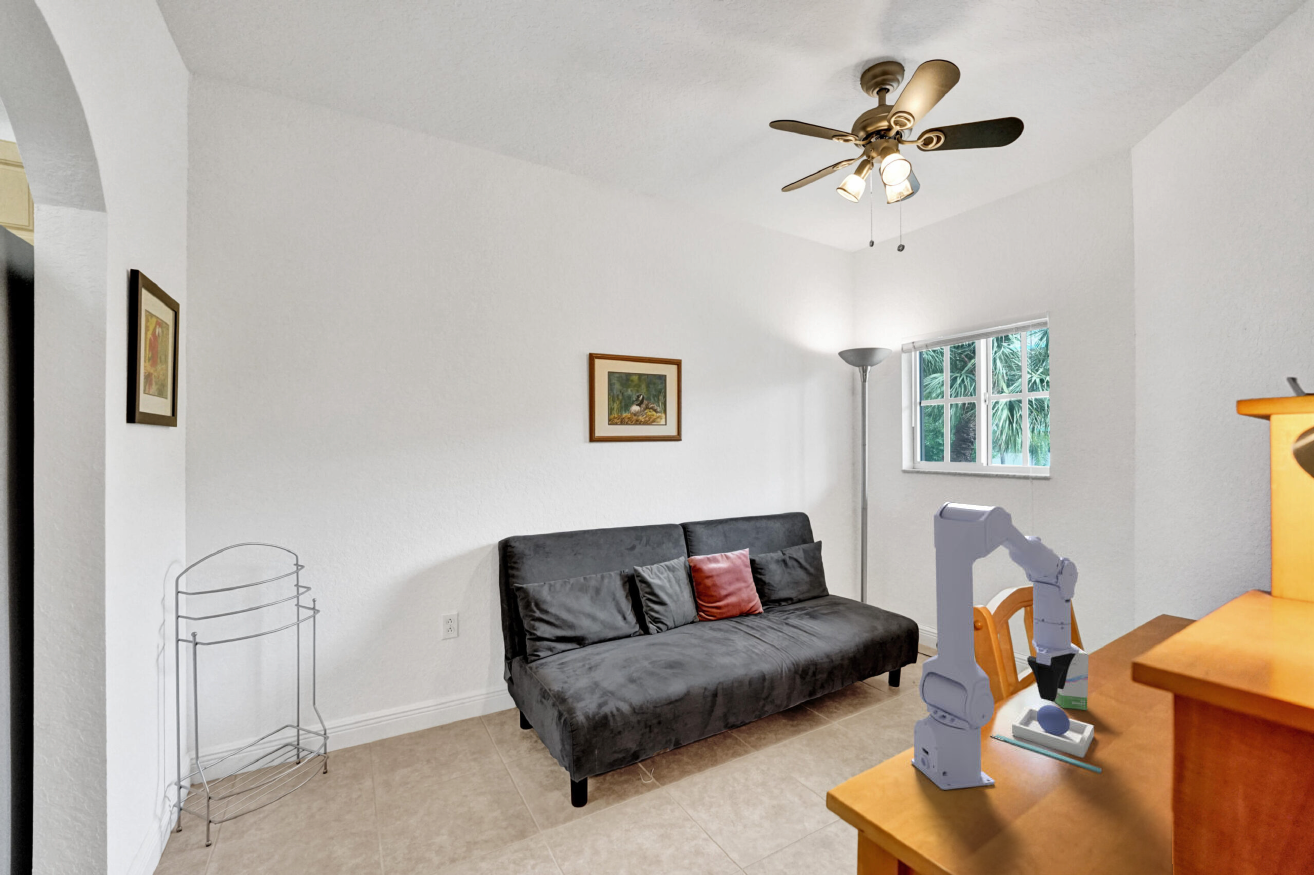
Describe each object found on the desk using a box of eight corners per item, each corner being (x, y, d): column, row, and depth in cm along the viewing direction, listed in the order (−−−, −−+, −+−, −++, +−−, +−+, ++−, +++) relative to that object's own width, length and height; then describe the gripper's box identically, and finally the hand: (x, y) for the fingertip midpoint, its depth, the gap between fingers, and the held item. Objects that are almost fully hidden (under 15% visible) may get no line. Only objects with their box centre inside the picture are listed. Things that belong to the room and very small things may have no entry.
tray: (1083, 758, 95) (1083, 746, 95) (1012, 735, 102) (1012, 724, 102) (1093, 736, 102) (1093, 725, 102) (1026, 716, 110) (1026, 706, 110)
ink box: (1041, 691, 122) (1041, 637, 122) (1067, 693, 121) (1067, 638, 121) (1061, 708, 113) (1061, 650, 113) (1090, 711, 112) (1089, 652, 112)
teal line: (990, 736, 102) (990, 734, 102) (992, 734, 102) (992, 732, 102) (1100, 773, 90) (1100, 771, 90) (1101, 770, 91) (1101, 768, 91)
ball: (1053, 741, 99) (1053, 714, 99) (1030, 728, 104) (1030, 701, 104) (1077, 739, 100) (1076, 711, 100) (1052, 725, 105) (1052, 699, 105)
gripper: (1070, 633, 95) (1071, 713, 94) (1085, 616, 105) (1086, 688, 104) (1022, 624, 100) (1023, 699, 99) (1041, 609, 110) (1041, 677, 110)
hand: (1052, 693), depth 102 cm, fingers open, 7 cm apart
